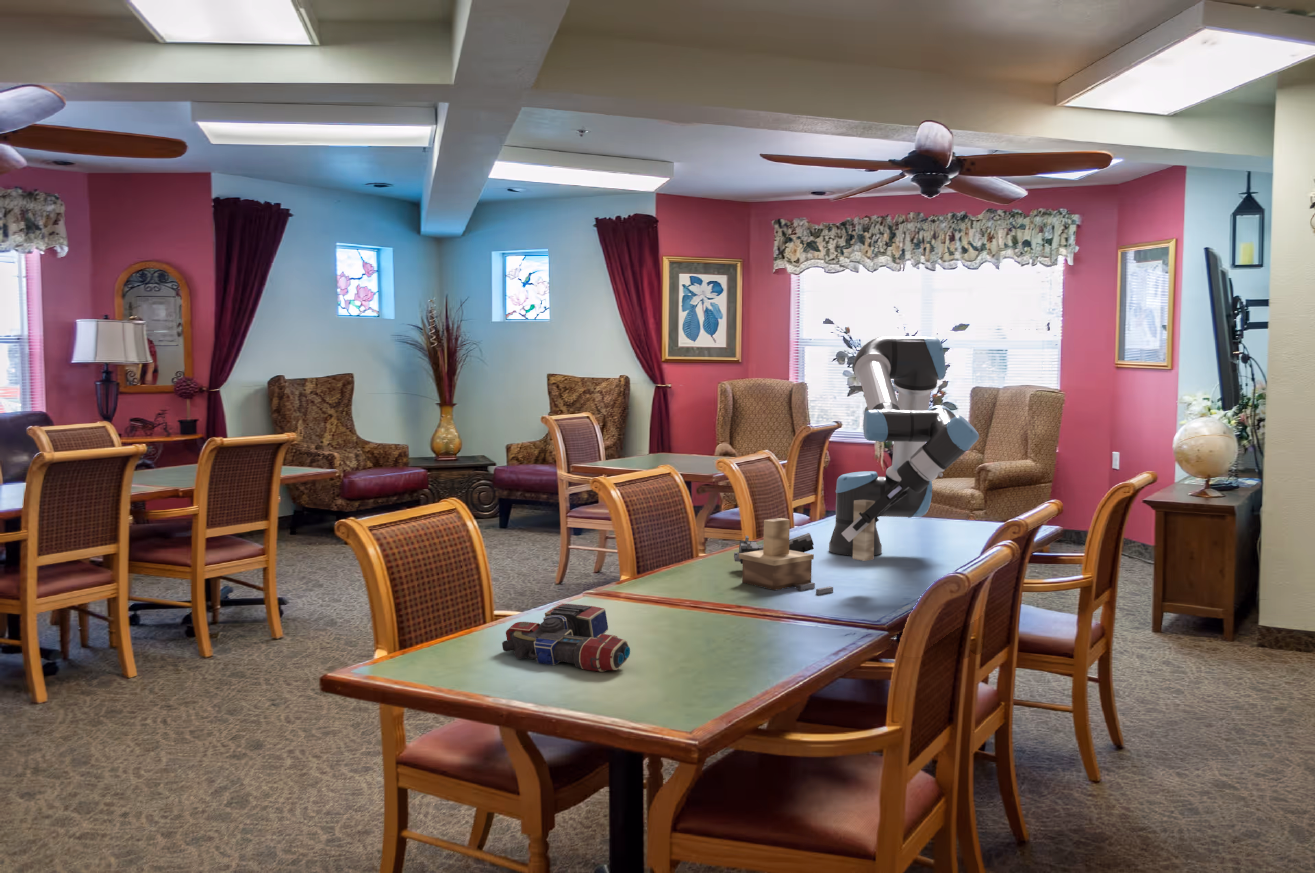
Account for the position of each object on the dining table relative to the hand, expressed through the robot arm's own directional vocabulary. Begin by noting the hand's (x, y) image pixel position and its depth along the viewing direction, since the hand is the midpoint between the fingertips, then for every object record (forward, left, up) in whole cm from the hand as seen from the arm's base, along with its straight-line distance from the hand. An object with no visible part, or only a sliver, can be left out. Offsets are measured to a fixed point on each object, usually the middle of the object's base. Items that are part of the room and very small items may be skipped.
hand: (848, 535), depth 238 cm
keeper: (+8, -5, -13) cm, 16 cm away
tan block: (-2, +3, -5) cm, 6 cm away
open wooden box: (+8, -15, -13) cm, 22 cm away
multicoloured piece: (+83, +5, -13) cm, 84 cm away
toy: (-2, -26, -13) cm, 29 cm away
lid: (+9, -15, -7) cm, 19 cm away
